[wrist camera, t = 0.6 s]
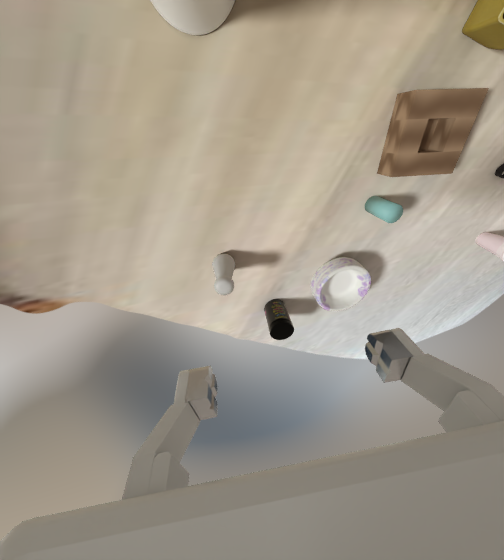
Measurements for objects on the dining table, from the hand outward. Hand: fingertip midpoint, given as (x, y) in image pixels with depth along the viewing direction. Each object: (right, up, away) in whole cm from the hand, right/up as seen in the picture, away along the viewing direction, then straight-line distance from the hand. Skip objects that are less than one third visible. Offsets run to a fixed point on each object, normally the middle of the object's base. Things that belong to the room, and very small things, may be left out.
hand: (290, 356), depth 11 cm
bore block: (+33, +35, +36) cm, 60 cm away
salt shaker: (-9, +9, +47) cm, 49 cm away
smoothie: (+65, +16, +53) cm, 85 cm away
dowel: (+28, +23, +43) cm, 56 cm away
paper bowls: (+22, +6, +54) cm, 58 cm away
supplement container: (+5, -4, +58) cm, 59 cm away
